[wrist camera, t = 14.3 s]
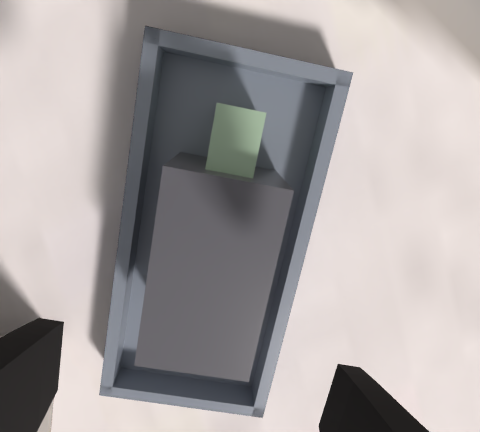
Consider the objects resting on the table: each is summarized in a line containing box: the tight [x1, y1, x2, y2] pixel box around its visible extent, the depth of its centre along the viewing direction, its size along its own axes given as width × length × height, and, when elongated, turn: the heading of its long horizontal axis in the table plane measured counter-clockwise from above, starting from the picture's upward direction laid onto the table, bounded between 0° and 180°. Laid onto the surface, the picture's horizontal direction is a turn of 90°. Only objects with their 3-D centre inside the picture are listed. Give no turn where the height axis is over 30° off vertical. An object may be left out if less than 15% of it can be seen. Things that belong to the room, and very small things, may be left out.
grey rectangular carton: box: [134, 103, 294, 382], centre depth 16 cm, size 10×5×5 cm, turn 169°
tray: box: [99, 26, 353, 418], centre depth 18 cm, size 9×18×2 cm, turn 169°
